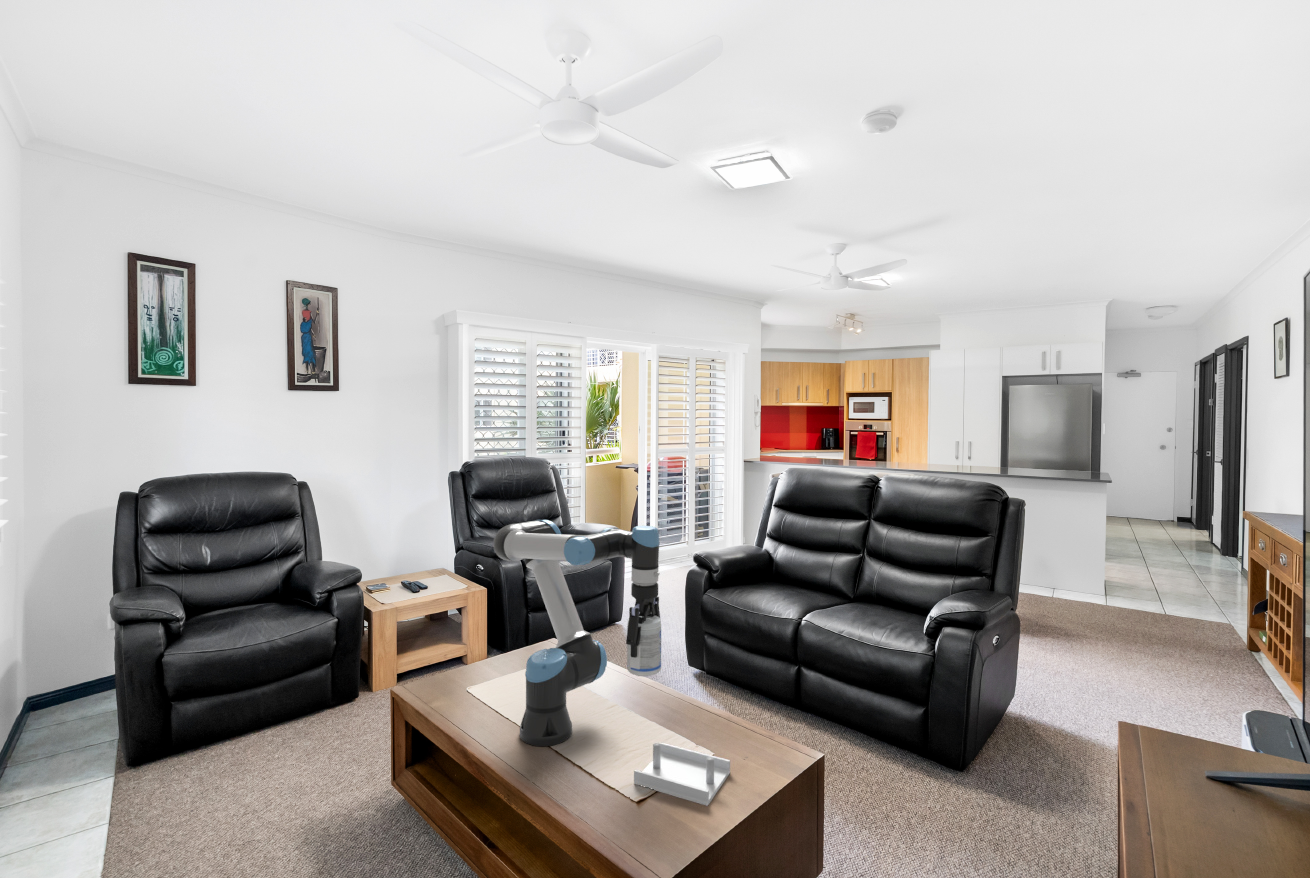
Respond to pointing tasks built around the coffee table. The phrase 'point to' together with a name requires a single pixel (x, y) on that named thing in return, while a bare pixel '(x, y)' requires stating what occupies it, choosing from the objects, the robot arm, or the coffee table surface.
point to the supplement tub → (648, 648)
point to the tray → (684, 773)
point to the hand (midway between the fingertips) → (643, 661)
